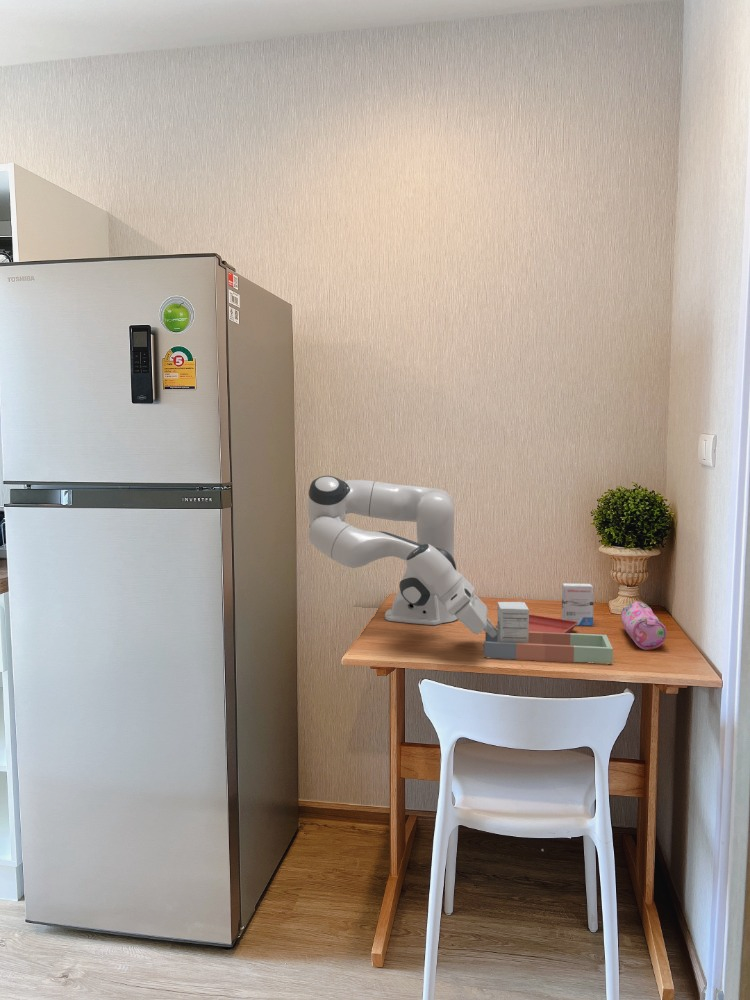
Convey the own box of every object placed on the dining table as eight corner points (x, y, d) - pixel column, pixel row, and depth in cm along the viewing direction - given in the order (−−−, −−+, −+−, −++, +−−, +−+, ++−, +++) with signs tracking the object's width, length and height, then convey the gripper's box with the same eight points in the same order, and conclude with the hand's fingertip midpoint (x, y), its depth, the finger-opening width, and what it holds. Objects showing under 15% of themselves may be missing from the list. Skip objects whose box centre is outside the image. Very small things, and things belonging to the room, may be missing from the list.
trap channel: (483, 658, 189) (484, 642, 188) (485, 643, 201) (485, 629, 201) (612, 664, 183) (612, 648, 183) (605, 649, 195) (606, 634, 195)
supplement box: (496, 648, 197) (497, 601, 196) (524, 648, 196) (525, 601, 195) (499, 656, 190) (499, 608, 188) (528, 657, 189) (529, 608, 188)
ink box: (590, 621, 223) (591, 582, 222) (593, 626, 218) (594, 586, 217) (561, 621, 224) (561, 582, 223) (563, 625, 219) (564, 586, 218)
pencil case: (619, 628, 216) (620, 598, 215) (652, 630, 214) (654, 599, 213) (630, 650, 195) (631, 617, 194) (667, 652, 193) (668, 618, 192)
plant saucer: (578, 632, 213) (578, 620, 213) (557, 648, 198) (557, 636, 198) (518, 623, 223) (518, 612, 223) (494, 638, 208) (494, 626, 207)
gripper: (451, 594, 204) (486, 631, 204) (446, 612, 184) (485, 653, 184) (468, 579, 203) (503, 616, 202) (465, 595, 183) (504, 637, 182)
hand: (495, 634), depth 193 cm, fingers closed
